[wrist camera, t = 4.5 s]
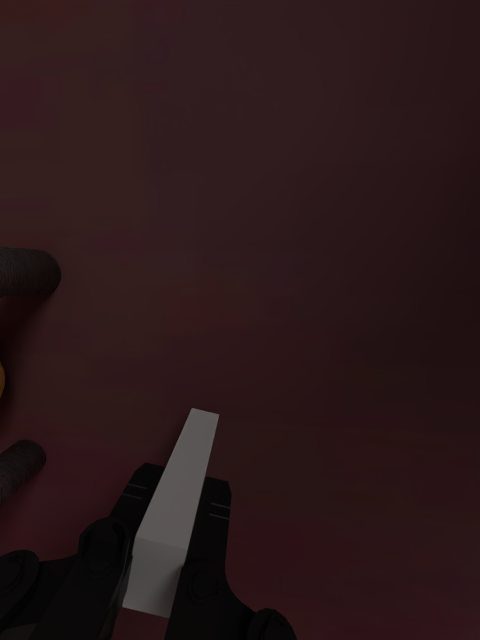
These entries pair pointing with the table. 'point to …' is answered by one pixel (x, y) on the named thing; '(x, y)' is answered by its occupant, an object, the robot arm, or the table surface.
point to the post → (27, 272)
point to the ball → (2, 379)
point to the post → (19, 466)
